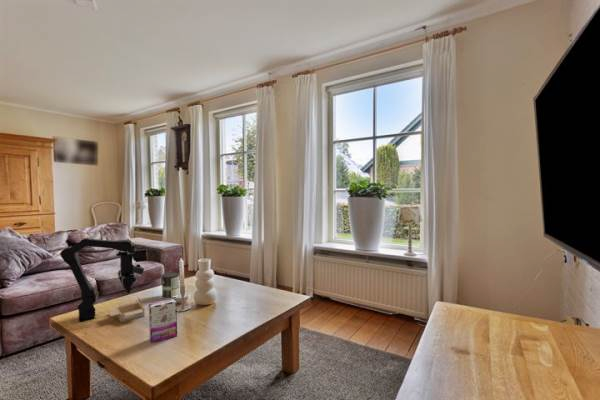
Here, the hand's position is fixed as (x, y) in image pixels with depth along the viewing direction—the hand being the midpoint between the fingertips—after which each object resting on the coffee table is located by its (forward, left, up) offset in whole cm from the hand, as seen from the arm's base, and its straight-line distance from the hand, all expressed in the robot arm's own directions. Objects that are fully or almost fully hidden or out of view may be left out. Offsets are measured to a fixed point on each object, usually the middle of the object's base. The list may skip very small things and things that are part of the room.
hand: (127, 291), depth 161 cm
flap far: (+6, -7, -7) cm, 11 cm away
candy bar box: (+6, -43, -12) cm, 45 cm away
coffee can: (+26, +9, -12) cm, 30 cm away
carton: (-2, -9, -12) cm, 15 cm away
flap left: (0, -1, -7) cm, 7 cm away
